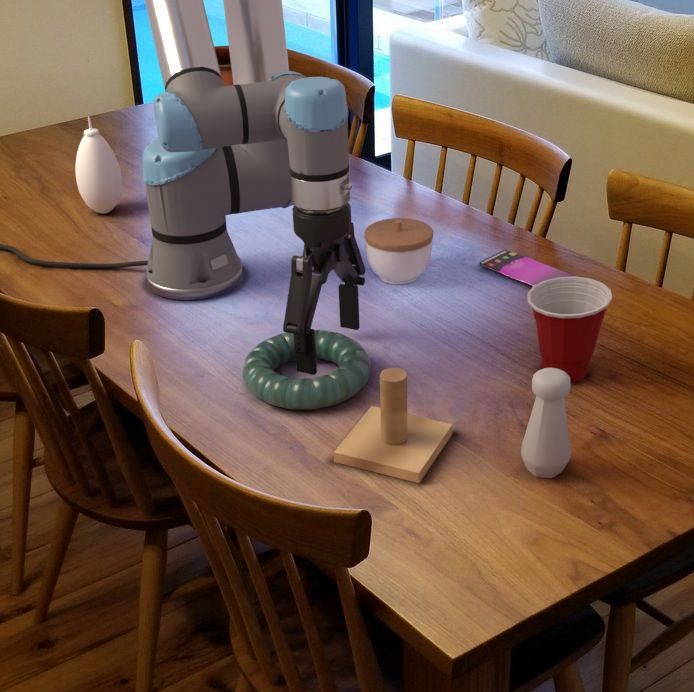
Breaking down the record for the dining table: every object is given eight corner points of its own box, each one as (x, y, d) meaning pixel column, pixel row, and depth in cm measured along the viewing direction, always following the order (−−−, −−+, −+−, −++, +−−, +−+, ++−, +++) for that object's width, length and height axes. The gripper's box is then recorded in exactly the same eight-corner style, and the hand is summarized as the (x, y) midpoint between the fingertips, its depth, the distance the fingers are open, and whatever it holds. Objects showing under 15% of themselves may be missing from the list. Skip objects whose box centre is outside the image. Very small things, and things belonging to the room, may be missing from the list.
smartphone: (506, 253, 176) (506, 248, 176) (582, 280, 167) (582, 275, 167) (477, 267, 172) (478, 262, 172) (554, 296, 163) (554, 291, 163)
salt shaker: (533, 448, 130) (540, 355, 123) (577, 463, 127) (587, 369, 120) (511, 472, 126) (516, 378, 119) (555, 488, 123) (564, 392, 116)
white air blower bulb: (73, 214, 197) (56, 118, 187) (105, 200, 202) (89, 106, 192) (103, 223, 193) (87, 125, 183) (134, 208, 198) (120, 112, 188)
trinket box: (427, 293, 165) (428, 237, 160) (359, 289, 167) (358, 233, 162) (437, 263, 174) (437, 209, 169) (372, 259, 176) (371, 206, 171)
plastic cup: (514, 355, 149) (519, 277, 142) (591, 349, 149) (599, 271, 143) (532, 396, 140) (537, 315, 133) (613, 390, 140) (623, 309, 134)
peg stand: (334, 462, 129) (330, 387, 123) (371, 415, 137) (369, 344, 131) (419, 483, 125) (419, 407, 119) (452, 434, 133) (454, 361, 127)
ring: (221, 399, 141) (218, 373, 139) (282, 340, 154) (280, 315, 152) (336, 426, 135) (335, 399, 133) (390, 363, 148) (390, 337, 146)
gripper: (302, 244, 126) (312, 397, 138) (387, 175, 145) (389, 314, 157) (247, 236, 129) (261, 386, 140) (337, 169, 148) (343, 306, 159)
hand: (329, 349), depth 148 cm, fingers open, 13 cm apart
